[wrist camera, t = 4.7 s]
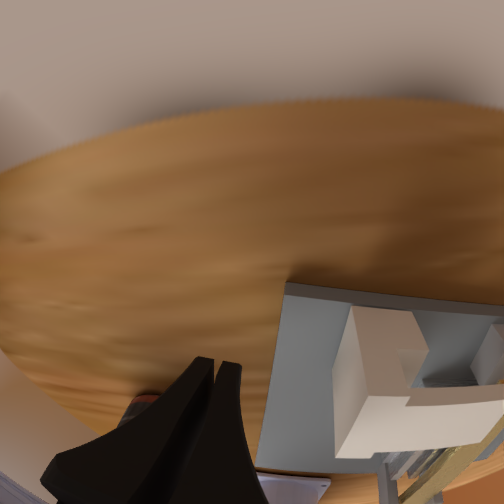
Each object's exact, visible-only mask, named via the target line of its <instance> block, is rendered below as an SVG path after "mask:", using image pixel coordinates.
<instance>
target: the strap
mask: <svg viewBox="0 0 504 504" xmlns="http://www.w3.org/2000/svg"><path fill="white" fill-rule="evenodd" d="M497 384H504V379H503V380H499V381H498V382H497ZM503 428H504V414H503V416H502V417H501V418H500V420H499V421H498V422H497V423H496V425H495V426H494V427H493V428H492V429H491V431H490V432H489V433H488V434H487V435H486V436H485V438H484V439H483V440H482V441H481V442H479V443H474V444H468V445H461V446H454V447H448V448H447V449H446V450H445V451H444V453H443V454H442V455H441V456H440V457H439V458H438V459H437V460H436V461H435V462H434V463H433V464H432V465H431V467H430V468H429V469H428V470H427V471H426V472H425V473H424V474H423V475H422V476H421V477H420V478H419V479H418V480H417V481H416V482H414V483H413V484H412V485H411V486H410V487H409V488H408V489H407V490H406V491H405V492H404V493H403V494H402V495H400V496H399V497H398V500H399V504H425V503H427V502H428V501H429V500H430V499H432V498H433V497H434V496H435V495H437V494H438V493H439V492H440V491H441V490H442V489H444V488H445V487H446V486H447V485H448V484H449V483H451V482H452V481H453V480H454V479H455V478H456V477H457V476H458V475H459V474H460V473H461V472H462V471H464V470H465V469H466V468H467V467H468V466H469V465H470V464H471V463H472V462H473V461H474V460H475V459H476V458H477V457H478V456H479V455H480V454H481V453H482V451H483V450H484V449H485V448H486V447H487V446H488V445H489V444H490V443H491V442H492V441H493V440H494V438H495V437H496V436H497V435H498V434H499V433H500V432H501V430H502V429H503Z"/></svg>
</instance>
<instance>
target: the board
mask: <svg viewBox="0 0 504 504" xmlns="http://www.w3.org/2000/svg"><path fill="white" fill-rule="evenodd" d="M351 305H352V306H361V307H370V308H380V309H390V310H400V311H411V312H412V313H413V315H414V317H415V320H416V322H417V324H418V326H419V328H420V330H421V333H422V335H423V337H424V339H425V341H426V344H427V346H428V348H429V352H428V354H427V356H426V358H425V360H424V362H423V364H422V366H421V368H420V370H419V372H418V374H417V376H416V378H415V380H414V382H413V383H412V385H411V387H410V388H417V387H418V385H419V383H420V381H421V380H422V379H465V378H476V380H477V382H478V384H479V386H483V385H496V384H497V382H498V381H499V380H503V379H504V306H500V305H488V304H477V303H466V302H456V301H446V300H436V299H426V298H417V297H407V296H398V295H389V294H380V293H371V292H363V291H354V290H346V289H338V288H330V287H322V286H314V285H306V284H298V283H291V282H286V284H285V290H284V297H283V304H282V311H281V317H280V324H279V330H278V337H277V343H276V349H275V355H274V361H273V367H272V373H271V379H270V385H269V391H268V396H267V402H266V407H265V413H264V418H263V424H262V429H261V434H260V440H259V445H258V450H257V455H256V461H255V466H256V467H263V468H271V469H280V470H289V471H301V472H316V473H346V474H360V473H377V477H378V489H379V503H380V504H399V500H398V490H397V482H396V480H390V477H389V468H388V463H382V454H381V452H375V453H374V454H373V455H372V457H371V458H335V430H334V403H333V383H332V368H333V365H334V362H335V359H336V356H337V353H338V349H339V346H340V343H341V340H342V336H343V333H344V329H345V326H346V322H347V319H348V315H349V312H350V308H351ZM503 441H504V428H503V429H502V430H501V432H500V433H499V434H498V435H497V436H496V437H495V439H494V440H493V441H492V442H491V443H490V444H489V445H488V446H487V447H486V448H485V450H484V451H483V452H482V453H481V454H480V455H479V456H478V457H477V458H476V459H475V460H474V461H479V460H483V459H487V458H488V457H489V456H490V455H491V454H492V453H493V452H494V450H495V449H496V448H497V447H498V446H499V445H500V444H501V443H502V442H503ZM474 461H473V462H474ZM424 473H425V470H423V471H422V472H421V473H420V474H419V477H421V476H422V475H423V474H424ZM442 503H443V496H442V491H440V492H439V493H438V494H437V495H435V496H434V497H433V498H432V499H430V500H429V501H428V502H427V503H425V504H442Z"/></svg>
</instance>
